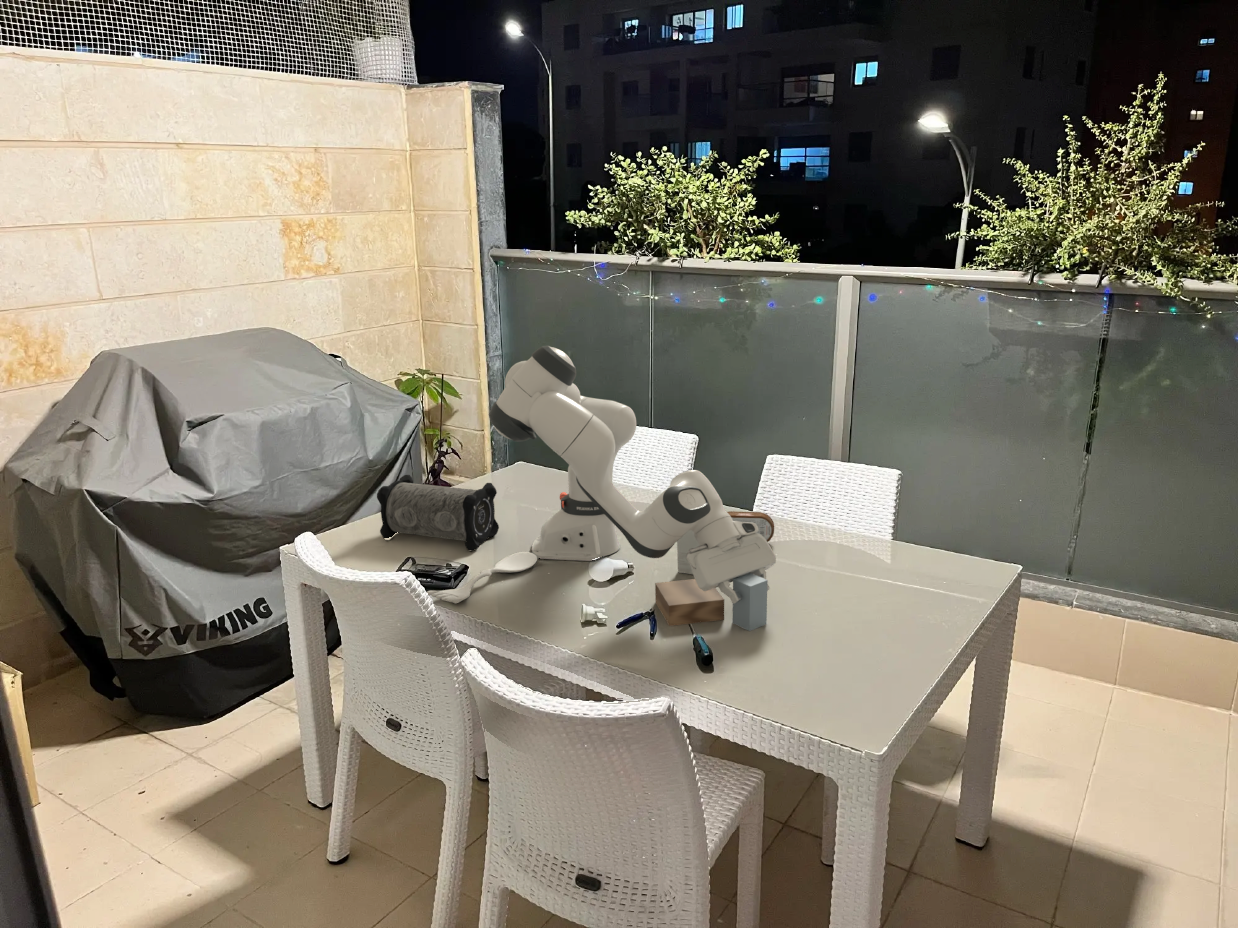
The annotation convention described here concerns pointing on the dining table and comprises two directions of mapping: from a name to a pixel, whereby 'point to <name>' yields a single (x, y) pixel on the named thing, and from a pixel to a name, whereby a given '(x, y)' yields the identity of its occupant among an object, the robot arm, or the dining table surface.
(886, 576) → the dining table surface
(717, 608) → the walnut block
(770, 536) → the tin
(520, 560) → the spoon
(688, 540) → the supplement box
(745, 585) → the slate block
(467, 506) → the speaker
